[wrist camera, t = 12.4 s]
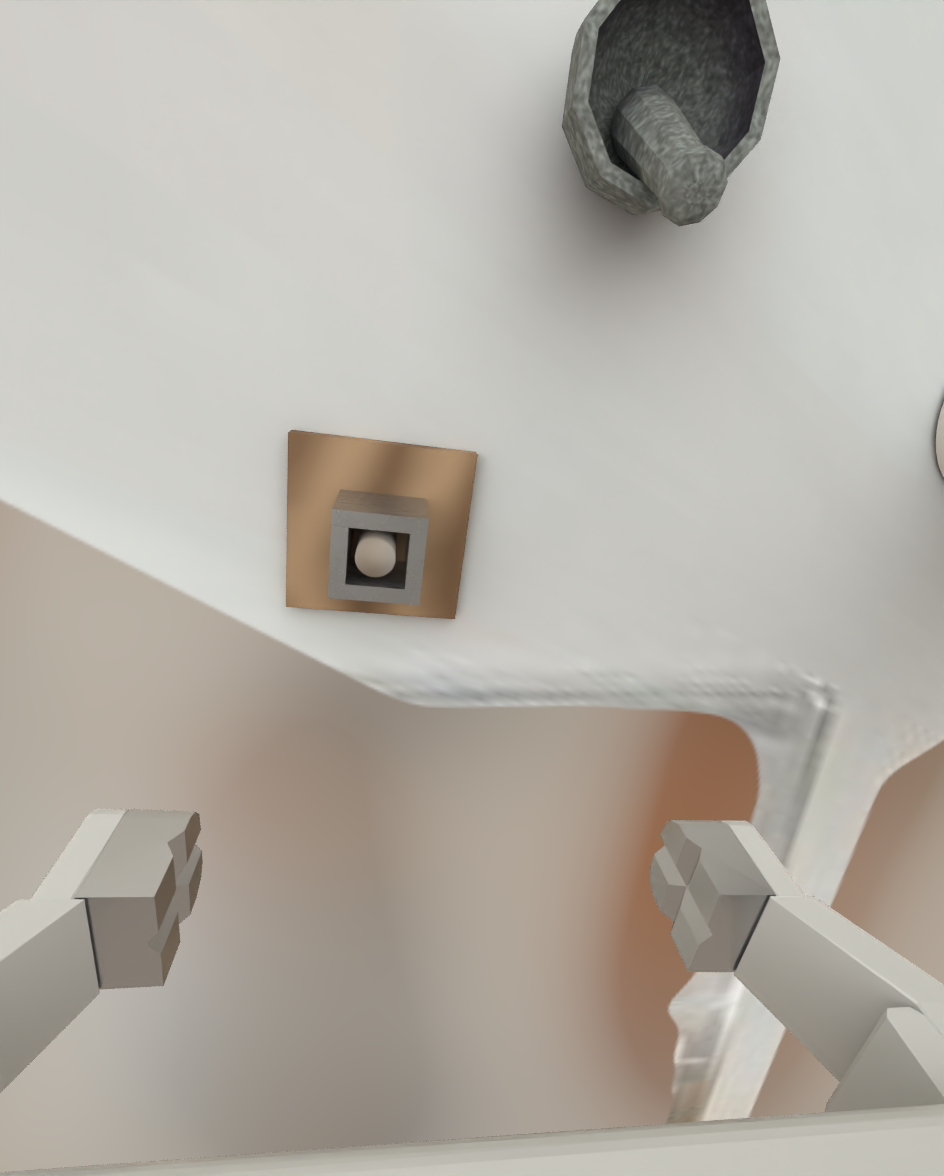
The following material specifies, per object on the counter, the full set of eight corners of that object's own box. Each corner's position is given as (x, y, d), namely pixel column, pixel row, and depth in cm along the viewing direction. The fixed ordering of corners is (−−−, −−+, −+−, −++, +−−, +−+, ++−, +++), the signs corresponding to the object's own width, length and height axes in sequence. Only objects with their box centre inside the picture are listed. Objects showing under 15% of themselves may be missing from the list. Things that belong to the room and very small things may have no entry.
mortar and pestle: (558, 3, 30) (649, -199, 19) (722, 38, 31) (898, -132, 20) (527, 249, 34) (587, 202, 23) (673, 270, 35) (796, 235, 24)
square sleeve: (425, 498, 38) (429, 519, 33) (417, 575, 40) (419, 605, 35) (340, 489, 37) (331, 509, 32) (336, 568, 39) (327, 598, 34)
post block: (475, 452, 38) (487, 470, 33) (453, 612, 43) (461, 652, 37) (291, 429, 36) (271, 445, 31) (289, 599, 41) (270, 640, 35)
